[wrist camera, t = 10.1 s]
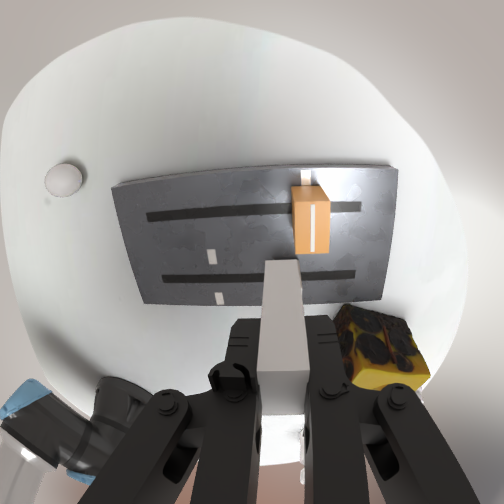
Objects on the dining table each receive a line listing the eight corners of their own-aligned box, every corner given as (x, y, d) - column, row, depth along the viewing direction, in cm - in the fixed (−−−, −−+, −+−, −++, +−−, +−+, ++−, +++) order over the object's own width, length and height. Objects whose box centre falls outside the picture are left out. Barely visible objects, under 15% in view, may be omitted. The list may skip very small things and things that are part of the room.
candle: (307, 355, 34) (311, 418, 26) (343, 300, 30) (361, 367, 21) (367, 366, 35) (380, 422, 26) (406, 318, 30) (433, 376, 22)
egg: (91, 193, 26) (71, 203, 23) (57, 190, 26) (37, 200, 23) (90, 160, 24) (69, 167, 21) (56, 160, 25) (34, 168, 21)
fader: (292, 230, 24) (295, 254, 20) (291, 186, 22) (294, 202, 18) (320, 229, 24) (329, 253, 19) (320, 185, 22) (330, 201, 18)
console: (150, 293, 32) (143, 303, 30) (120, 182, 25) (110, 188, 24) (376, 289, 29) (381, 300, 27) (389, 165, 22) (398, 169, 20)
